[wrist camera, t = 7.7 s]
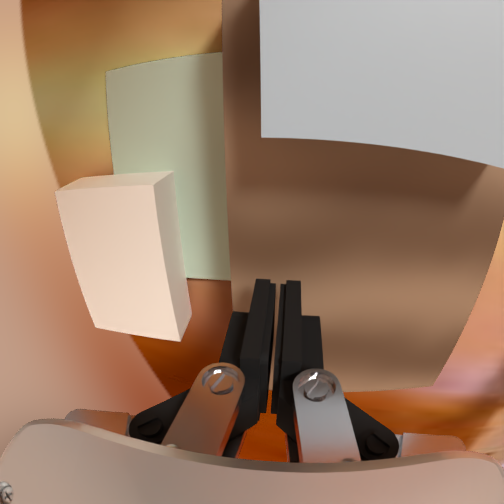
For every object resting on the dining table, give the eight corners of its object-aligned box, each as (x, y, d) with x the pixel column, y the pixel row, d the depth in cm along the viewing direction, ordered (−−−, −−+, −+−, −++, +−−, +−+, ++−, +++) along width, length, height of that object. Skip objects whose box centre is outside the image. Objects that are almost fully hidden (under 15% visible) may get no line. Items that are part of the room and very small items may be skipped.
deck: (239, -2, 10) (222, -34, 7) (471, 33, 9) (515, 24, 5) (247, 340, 20) (238, 387, 16) (416, 342, 18) (432, 385, 15)
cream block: (153, 184, 12) (173, 171, 14) (54, 191, 13) (81, 177, 15) (180, 341, 16) (192, 314, 19) (95, 327, 17) (112, 304, 19)
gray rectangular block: (267, 129, 10) (261, 137, 7) (265, -27, 7) (258, -58, 5) (491, 158, 9) (528, 175, 6) (492, 21, 6) (528, 14, 4)
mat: (109, 71, 12) (105, 71, 12) (240, 52, 12) (239, 50, 11) (135, 270, 18) (132, 273, 18) (245, 277, 17) (244, 281, 17)
